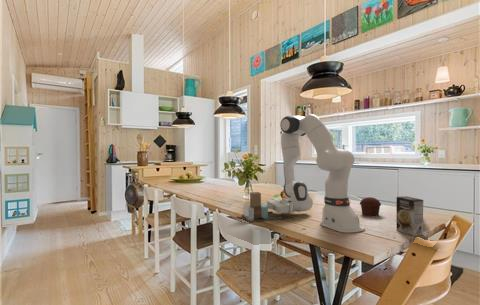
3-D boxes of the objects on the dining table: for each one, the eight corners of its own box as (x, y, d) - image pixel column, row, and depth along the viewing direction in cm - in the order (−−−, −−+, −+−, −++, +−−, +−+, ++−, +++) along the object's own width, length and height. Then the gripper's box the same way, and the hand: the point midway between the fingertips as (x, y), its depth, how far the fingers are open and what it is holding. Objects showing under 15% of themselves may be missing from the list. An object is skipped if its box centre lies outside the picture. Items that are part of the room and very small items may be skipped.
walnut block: (261, 217, 153) (260, 193, 153) (252, 218, 152) (252, 193, 152) (258, 215, 158) (258, 191, 158) (250, 216, 157) (250, 192, 156)
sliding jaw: (268, 218, 150) (267, 207, 150) (263, 218, 150) (262, 207, 150) (261, 213, 162) (261, 203, 162) (256, 213, 161) (256, 203, 161)
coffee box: (395, 230, 128) (395, 196, 128) (405, 228, 130) (405, 195, 130) (413, 236, 119) (413, 200, 119) (423, 234, 121) (423, 199, 121)
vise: (282, 219, 150) (282, 207, 150) (248, 222, 146) (248, 209, 146) (272, 212, 166) (272, 201, 166) (241, 215, 161) (241, 203, 161)
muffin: (367, 217, 151) (367, 200, 151) (355, 213, 162) (355, 196, 162) (385, 216, 154) (385, 199, 154) (372, 211, 165) (372, 195, 165)
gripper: (279, 196, 169) (259, 198, 166) (293, 203, 150) (270, 204, 146) (279, 206, 170) (259, 208, 166) (293, 214, 150) (270, 216, 146)
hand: (264, 206), depth 156 cm, fingers closed, pressing on sliding jaw
